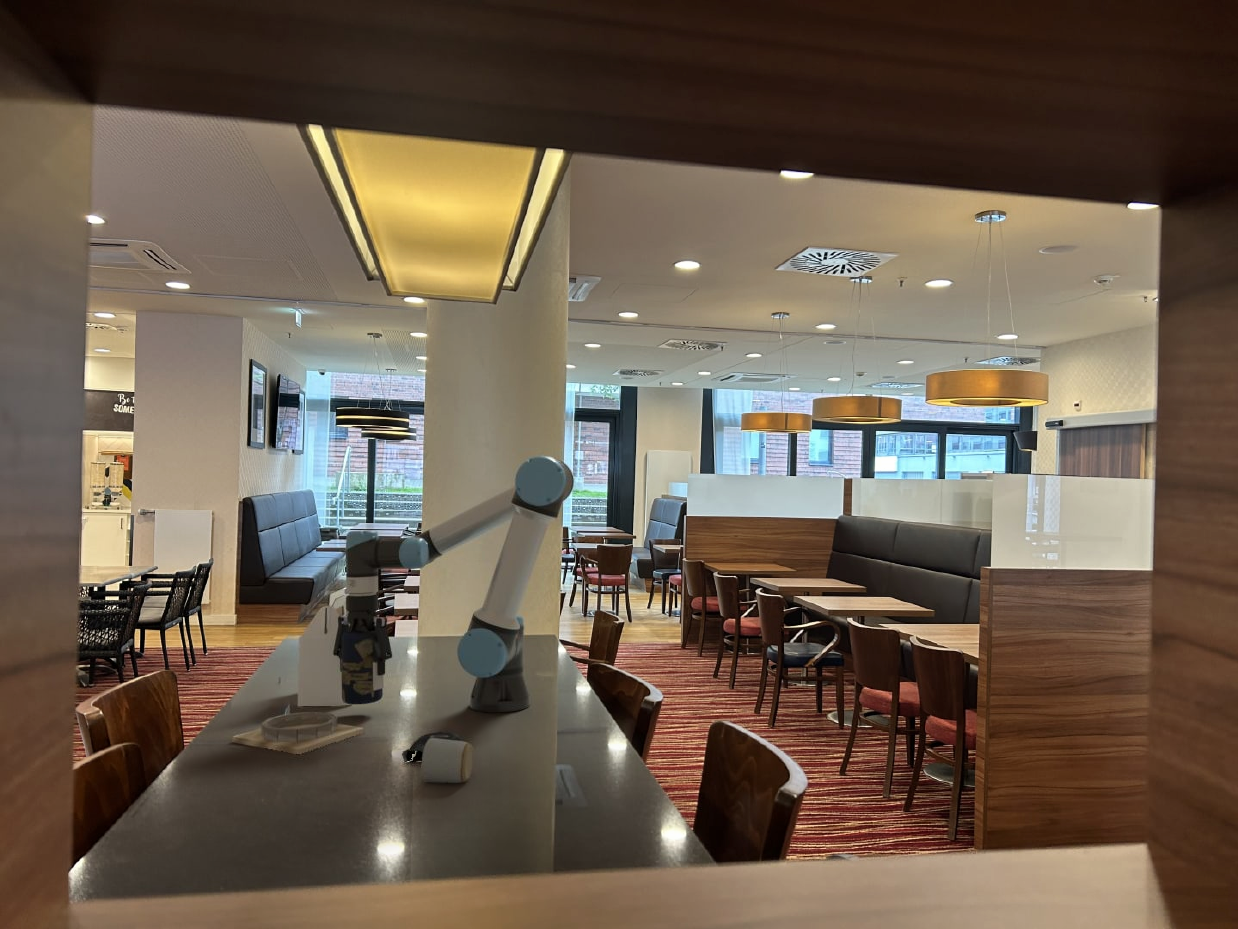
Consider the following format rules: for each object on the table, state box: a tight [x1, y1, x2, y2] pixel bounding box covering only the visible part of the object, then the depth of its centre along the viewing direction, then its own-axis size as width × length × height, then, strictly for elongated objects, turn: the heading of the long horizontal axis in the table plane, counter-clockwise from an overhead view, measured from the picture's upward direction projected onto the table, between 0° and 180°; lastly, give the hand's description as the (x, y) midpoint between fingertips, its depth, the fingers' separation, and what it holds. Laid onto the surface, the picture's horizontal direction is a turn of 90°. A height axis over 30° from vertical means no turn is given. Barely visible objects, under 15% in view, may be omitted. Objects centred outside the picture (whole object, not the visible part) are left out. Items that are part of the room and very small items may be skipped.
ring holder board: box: [232, 711, 365, 755], centre depth 180 cm, size 20×18×4 cm
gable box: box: [297, 588, 353, 707], centre depth 219 cm, size 22×13×28 cm, turn 6°
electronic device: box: [401, 731, 463, 763], centre depth 169 cm, size 9×6×15 cm
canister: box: [342, 630, 384, 705], centre depth 199 cm, size 10×10×18 cm
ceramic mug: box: [420, 738, 474, 784], centre depth 153 cm, size 11×8×8 cm
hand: (362, 687), depth 199 cm, fingers closed on canister, 9 cm apart
